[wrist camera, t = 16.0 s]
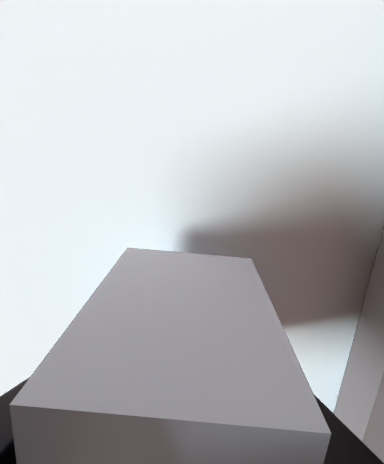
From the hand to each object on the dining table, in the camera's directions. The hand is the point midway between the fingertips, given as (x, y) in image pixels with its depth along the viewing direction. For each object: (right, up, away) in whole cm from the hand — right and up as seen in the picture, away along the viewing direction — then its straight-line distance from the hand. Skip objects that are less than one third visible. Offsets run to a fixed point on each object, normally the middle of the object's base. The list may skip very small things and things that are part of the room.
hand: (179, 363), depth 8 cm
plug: (0, +1, +2) cm, 3 cm away
